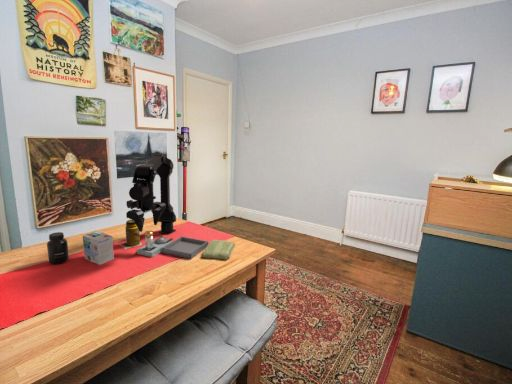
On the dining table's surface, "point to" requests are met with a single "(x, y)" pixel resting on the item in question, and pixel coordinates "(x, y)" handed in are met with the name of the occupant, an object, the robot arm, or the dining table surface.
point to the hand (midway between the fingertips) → (148, 228)
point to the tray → (185, 247)
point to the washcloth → (218, 249)
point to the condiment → (131, 235)
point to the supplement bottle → (57, 248)
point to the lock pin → (149, 240)
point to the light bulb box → (98, 247)
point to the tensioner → (155, 247)
